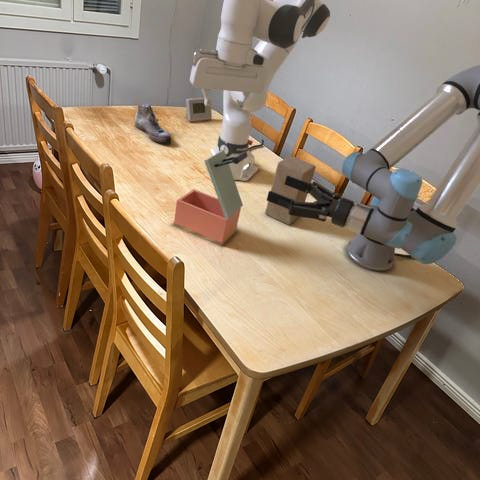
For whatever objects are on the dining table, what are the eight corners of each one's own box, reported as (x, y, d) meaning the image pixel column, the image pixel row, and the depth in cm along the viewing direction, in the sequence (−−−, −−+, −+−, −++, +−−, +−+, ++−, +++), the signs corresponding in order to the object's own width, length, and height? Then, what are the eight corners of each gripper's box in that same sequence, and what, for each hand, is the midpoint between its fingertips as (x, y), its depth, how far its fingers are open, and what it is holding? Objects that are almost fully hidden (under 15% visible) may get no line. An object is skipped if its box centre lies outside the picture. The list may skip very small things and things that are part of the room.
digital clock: (187, 122, 220) (190, 101, 214) (179, 116, 226) (181, 95, 220) (214, 122, 229) (218, 101, 223) (206, 115, 235) (209, 95, 229)
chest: (173, 225, 138) (176, 200, 133) (190, 213, 146) (193, 188, 142) (221, 245, 134) (226, 220, 129) (235, 231, 142) (241, 207, 137)
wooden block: (289, 225, 152) (304, 173, 141) (264, 214, 155) (277, 162, 145) (301, 216, 159) (316, 165, 149) (277, 205, 163) (290, 155, 152)
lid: (204, 160, 123) (232, 152, 119) (220, 150, 132) (247, 143, 127) (225, 218, 129) (252, 213, 124) (239, 206, 137) (266, 200, 132)
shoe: (175, 145, 192) (178, 118, 185) (151, 146, 186) (153, 118, 180) (154, 124, 209) (157, 98, 202) (132, 124, 203) (133, 97, 197)
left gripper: (198, 50, 105) (190, 107, 113) (273, 60, 114) (261, 112, 121) (190, 44, 110) (183, 99, 117) (263, 54, 119) (252, 105, 126)
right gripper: (333, 247, 109) (256, 215, 115) (355, 210, 129) (289, 185, 135) (342, 221, 105) (262, 189, 111) (364, 187, 125) (295, 162, 131)
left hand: (223, 106), depth 119 cm, fingers open, 8 cm apart
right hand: (277, 187), depth 123 cm, fingers open, 13 cm apart
